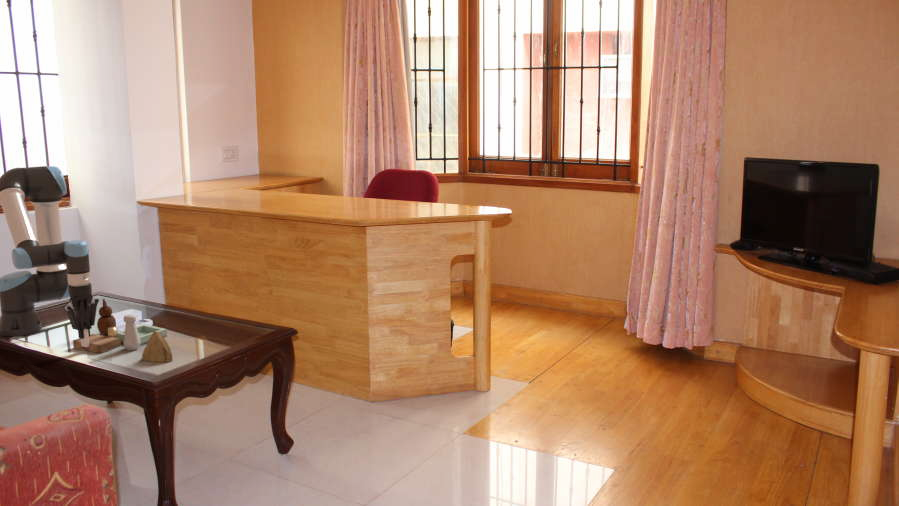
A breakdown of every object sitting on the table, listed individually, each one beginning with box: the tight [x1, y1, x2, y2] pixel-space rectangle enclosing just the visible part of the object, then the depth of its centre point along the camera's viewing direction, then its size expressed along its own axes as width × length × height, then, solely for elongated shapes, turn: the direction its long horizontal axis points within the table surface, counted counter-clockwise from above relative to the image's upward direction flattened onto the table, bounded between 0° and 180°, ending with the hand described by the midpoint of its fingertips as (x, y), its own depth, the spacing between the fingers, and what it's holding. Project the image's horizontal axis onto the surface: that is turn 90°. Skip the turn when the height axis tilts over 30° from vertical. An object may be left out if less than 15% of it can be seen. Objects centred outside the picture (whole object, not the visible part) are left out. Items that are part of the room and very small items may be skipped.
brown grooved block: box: [72, 333, 122, 354], centre depth 283 cm, size 14×9×3 cm, turn 68°
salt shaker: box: [123, 313, 141, 351], centre depth 281 cm, size 6×6×13 cm
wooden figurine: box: [96, 298, 117, 336], centre depth 297 cm, size 7×6×15 cm
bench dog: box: [108, 326, 118, 338], centre depth 288 cm, size 3×3×6 cm
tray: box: [117, 323, 168, 347], centre depth 294 cm, size 13×13×3 cm
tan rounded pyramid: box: [140, 331, 173, 363], centre depth 269 cm, size 11×9×10 cm
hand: (85, 346), depth 278 cm, fingers closed
